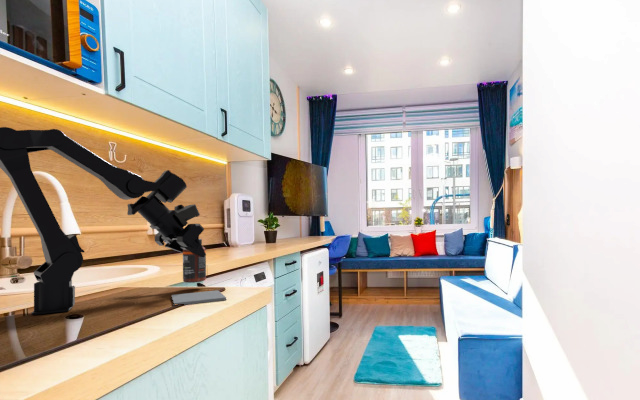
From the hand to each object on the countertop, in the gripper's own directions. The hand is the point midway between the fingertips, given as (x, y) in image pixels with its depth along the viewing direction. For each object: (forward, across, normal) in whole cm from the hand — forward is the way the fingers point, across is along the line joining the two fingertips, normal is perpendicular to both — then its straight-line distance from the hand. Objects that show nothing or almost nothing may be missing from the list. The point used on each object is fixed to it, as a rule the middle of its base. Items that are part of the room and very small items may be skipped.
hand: (199, 255), depth 107 cm
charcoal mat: (+1, -14, +11) cm, 18 cm away
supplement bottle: (+4, 0, +6) cm, 7 cm away
